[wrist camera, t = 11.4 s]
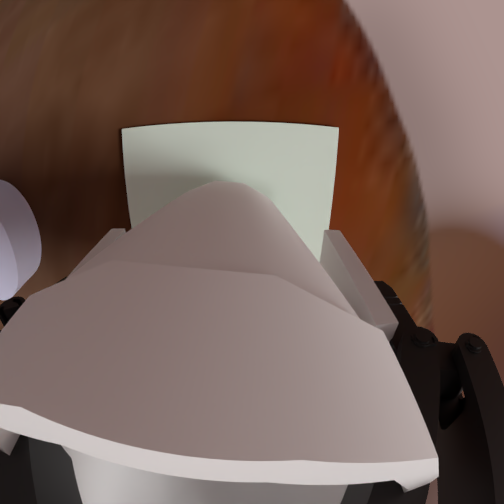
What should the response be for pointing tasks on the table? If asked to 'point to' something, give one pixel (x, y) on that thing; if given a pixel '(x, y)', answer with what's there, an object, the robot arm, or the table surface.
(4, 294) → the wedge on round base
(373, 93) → the table surface
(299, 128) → the sage mat
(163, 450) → the foam cup
